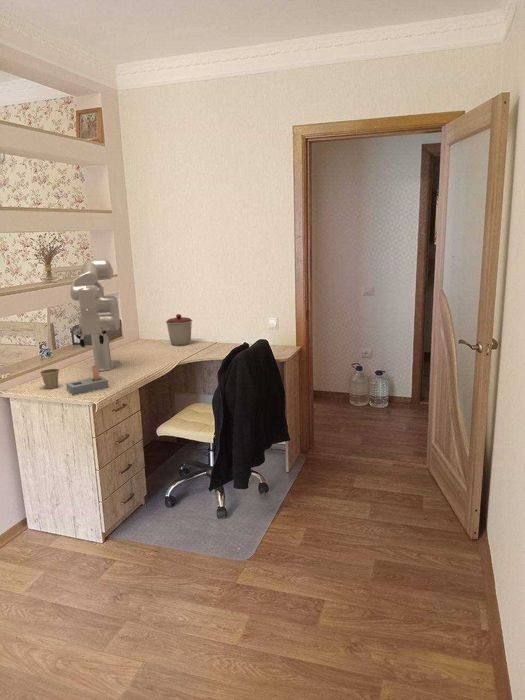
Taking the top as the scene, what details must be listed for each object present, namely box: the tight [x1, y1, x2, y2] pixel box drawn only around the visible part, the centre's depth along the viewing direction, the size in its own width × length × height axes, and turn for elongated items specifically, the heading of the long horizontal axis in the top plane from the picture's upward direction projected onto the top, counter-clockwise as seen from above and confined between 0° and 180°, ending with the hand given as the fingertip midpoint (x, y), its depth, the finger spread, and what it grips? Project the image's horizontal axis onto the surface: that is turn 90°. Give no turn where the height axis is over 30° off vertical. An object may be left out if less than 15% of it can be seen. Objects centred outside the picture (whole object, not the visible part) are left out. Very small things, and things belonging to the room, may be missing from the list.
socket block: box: [65, 375, 109, 396], centre depth 271 cm, size 18×10×4 cm, turn 127°
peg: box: [91, 365, 100, 381], centre depth 274 cm, size 3×3×11 cm
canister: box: [165, 313, 193, 347], centre depth 364 cm, size 18×18×21 cm
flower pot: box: [39, 368, 60, 389], centre depth 278 cm, size 9×9×9 cm
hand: (92, 345), depth 270 cm, fingers open, 9 cm apart
